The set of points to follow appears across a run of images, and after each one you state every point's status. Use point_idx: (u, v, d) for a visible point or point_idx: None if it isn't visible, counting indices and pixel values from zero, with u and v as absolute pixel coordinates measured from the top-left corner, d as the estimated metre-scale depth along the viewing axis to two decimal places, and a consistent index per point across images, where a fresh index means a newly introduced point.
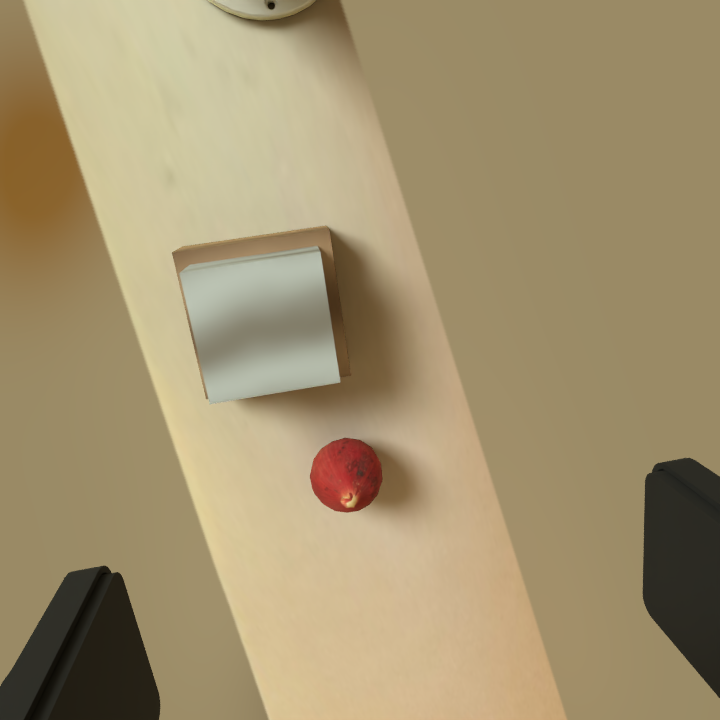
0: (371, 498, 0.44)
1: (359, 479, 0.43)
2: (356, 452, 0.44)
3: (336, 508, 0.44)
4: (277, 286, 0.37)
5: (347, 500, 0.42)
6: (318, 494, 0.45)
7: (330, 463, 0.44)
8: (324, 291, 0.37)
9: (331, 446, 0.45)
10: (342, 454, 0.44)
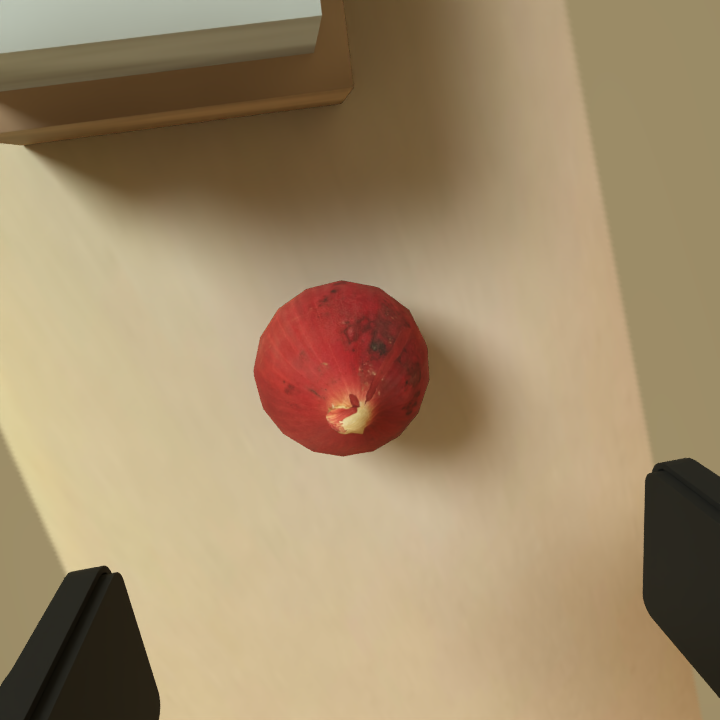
0: (405, 418, 0.17)
1: (377, 362, 0.16)
2: (367, 301, 0.17)
3: (316, 441, 0.17)
4: None
5: (343, 414, 0.15)
6: (271, 408, 0.18)
7: (299, 326, 0.17)
8: None
9: (305, 292, 0.18)
10: (331, 303, 0.17)
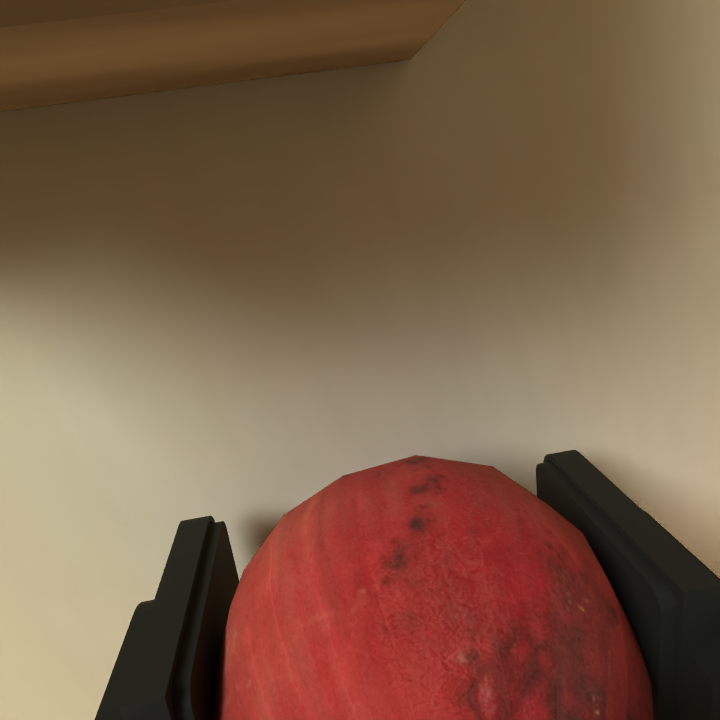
0: None
1: None
2: (512, 560, 0.06)
3: None
4: None
5: None
6: None
7: (333, 654, 0.06)
8: None
9: (339, 510, 0.07)
10: (419, 575, 0.06)
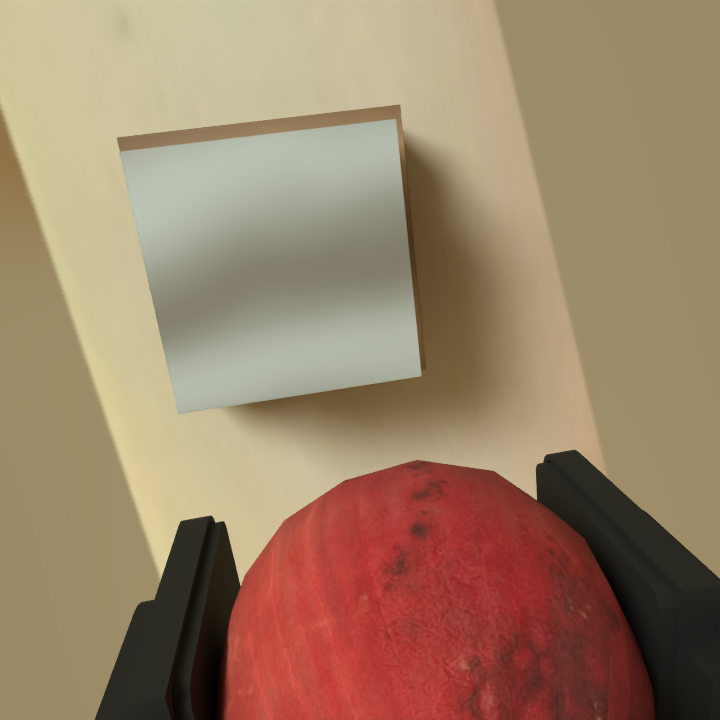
0: None
1: None
2: (514, 566, 0.06)
3: None
4: (311, 186, 0.19)
5: None
6: None
7: (334, 661, 0.06)
8: (400, 199, 0.19)
9: (342, 515, 0.07)
10: (421, 581, 0.06)
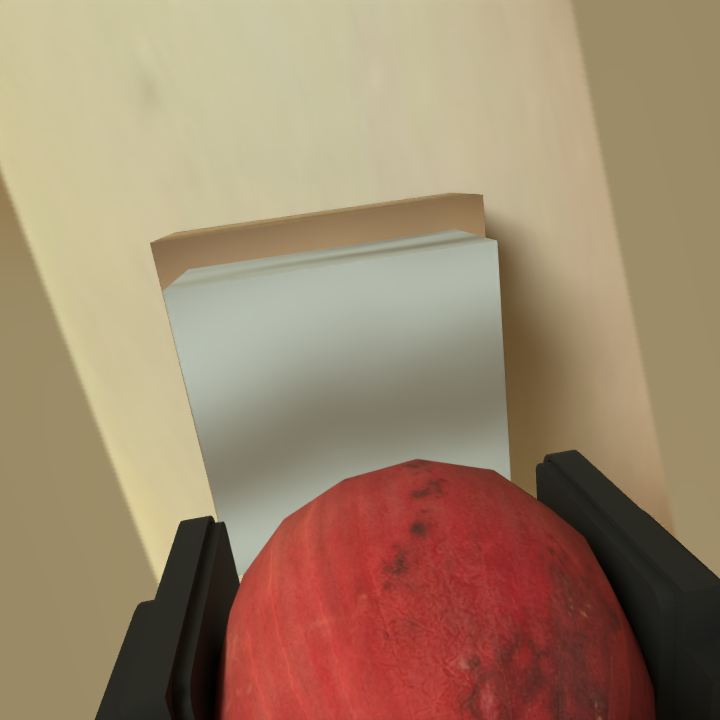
0: None
1: None
2: (514, 565, 0.06)
3: None
4: (393, 321, 0.16)
5: None
6: None
7: (333, 661, 0.06)
8: (498, 332, 0.16)
9: (341, 515, 0.07)
10: (421, 580, 0.06)
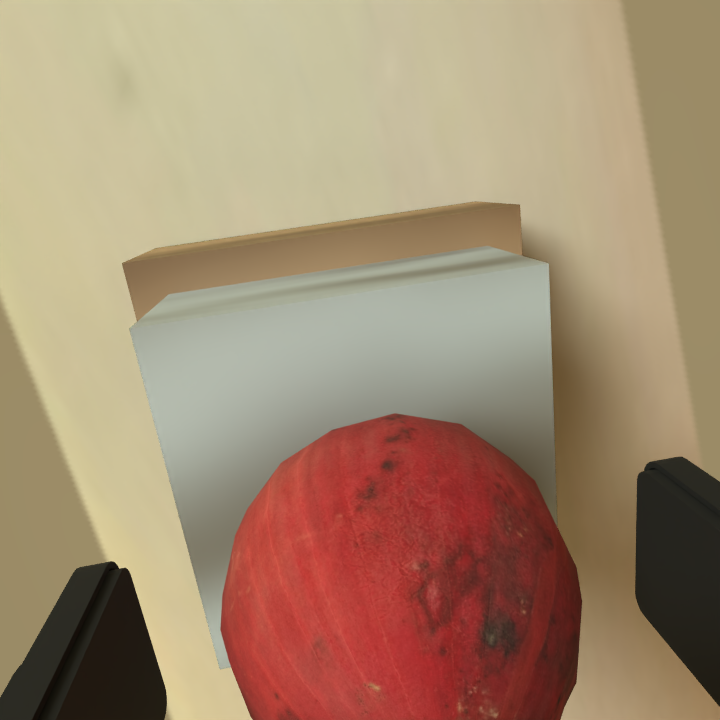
0: None
1: (499, 679, 0.07)
2: (464, 495, 0.08)
3: None
4: (419, 363, 0.13)
5: None
6: (252, 714, 0.08)
7: (313, 563, 0.07)
8: (547, 375, 0.13)
9: (326, 455, 0.09)
10: (386, 504, 0.08)
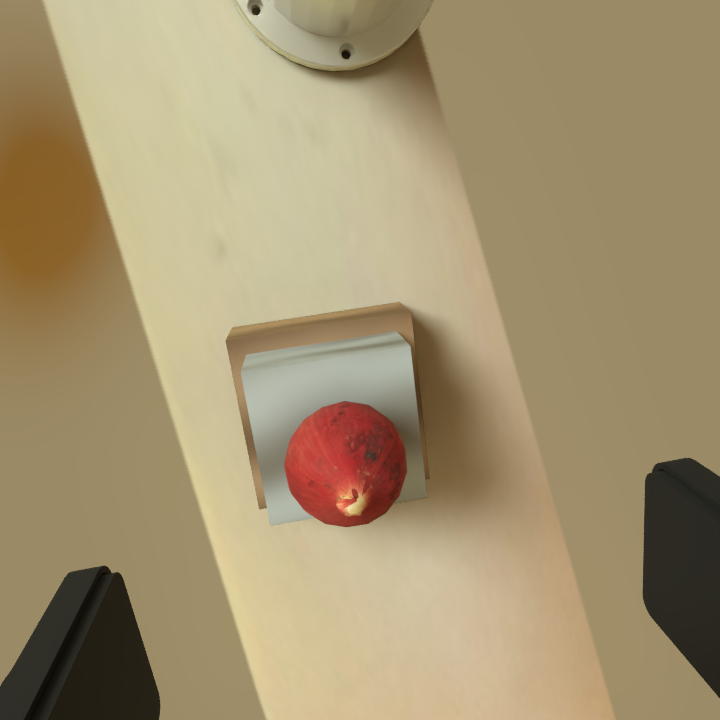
0: (389, 501, 0.25)
1: (370, 466, 0.24)
2: (363, 421, 0.26)
3: (329, 518, 0.25)
4: (357, 386, 0.30)
5: (347, 503, 0.23)
6: (297, 494, 0.26)
7: (318, 439, 0.25)
8: (413, 391, 0.31)
9: (320, 412, 0.26)
10: (339, 423, 0.25)
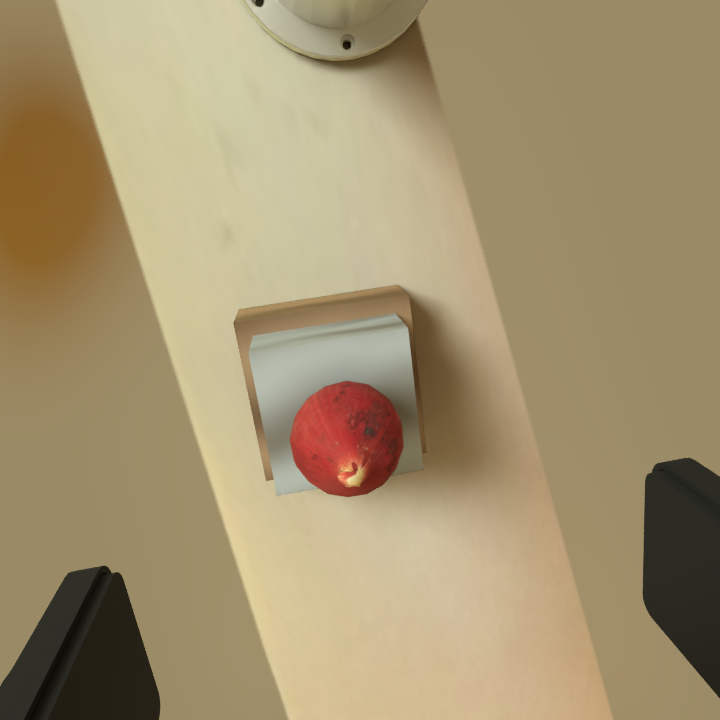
0: (387, 473, 0.28)
1: (368, 441, 0.26)
2: (363, 399, 0.28)
3: (331, 488, 0.27)
4: (358, 366, 0.32)
5: (348, 475, 0.25)
6: (302, 467, 0.28)
7: (320, 417, 0.27)
8: (410, 371, 0.33)
9: (323, 391, 0.28)
10: (341, 401, 0.27)
